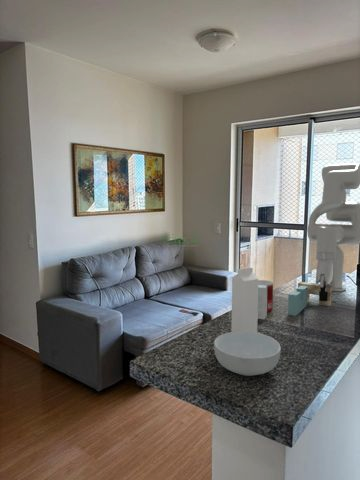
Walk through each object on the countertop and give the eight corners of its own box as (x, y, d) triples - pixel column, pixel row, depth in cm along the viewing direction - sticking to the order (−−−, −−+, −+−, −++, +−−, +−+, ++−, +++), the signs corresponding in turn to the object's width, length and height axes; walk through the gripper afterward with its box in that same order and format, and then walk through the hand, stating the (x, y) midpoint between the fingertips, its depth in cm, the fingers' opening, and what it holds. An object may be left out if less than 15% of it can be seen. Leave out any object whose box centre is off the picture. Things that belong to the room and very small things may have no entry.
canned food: (270, 306, 146) (271, 280, 144) (273, 312, 138) (274, 285, 136) (251, 306, 146) (252, 280, 145) (253, 312, 138) (254, 284, 137)
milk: (257, 336, 114) (259, 269, 112) (242, 340, 111) (244, 271, 109) (245, 330, 120) (246, 266, 117) (230, 333, 117) (232, 267, 114)
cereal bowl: (202, 373, 90) (202, 346, 90) (230, 349, 104) (230, 326, 103) (266, 393, 81) (267, 363, 80) (288, 364, 95) (289, 339, 94)
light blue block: (299, 304, 148) (300, 285, 147) (307, 305, 147) (307, 286, 146) (287, 314, 135) (288, 294, 134) (295, 316, 134) (296, 295, 133)
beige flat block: (297, 301, 153) (298, 283, 152) (299, 299, 155) (300, 281, 154) (329, 306, 145) (330, 287, 144) (331, 304, 148) (331, 285, 147)
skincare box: (267, 316, 133) (267, 285, 132) (264, 320, 129) (265, 288, 128) (251, 314, 136) (251, 283, 134) (248, 317, 132) (248, 286, 131)
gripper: (321, 252, 154) (319, 293, 156) (311, 258, 141) (309, 303, 143) (339, 254, 150) (337, 296, 152) (331, 260, 137) (329, 306, 139)
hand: (324, 299), depth 148 cm, fingers closed on beige flat block, 3 cm apart
